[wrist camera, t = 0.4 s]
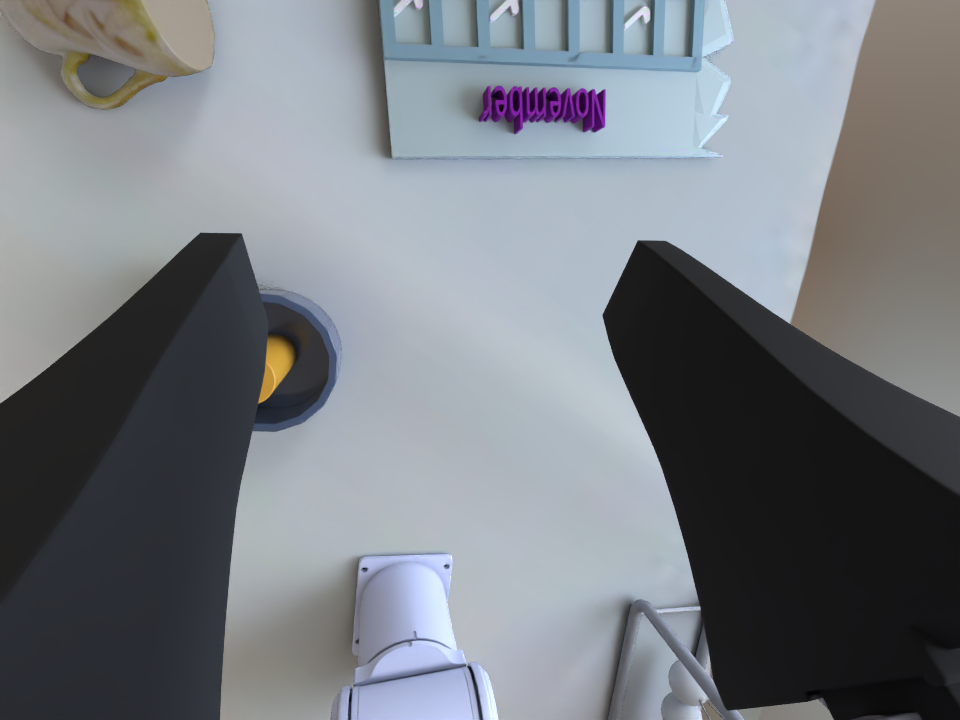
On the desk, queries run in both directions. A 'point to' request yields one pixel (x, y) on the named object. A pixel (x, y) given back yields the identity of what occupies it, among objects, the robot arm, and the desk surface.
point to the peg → (276, 363)
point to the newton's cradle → (672, 670)
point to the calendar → (553, 78)
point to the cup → (299, 360)
